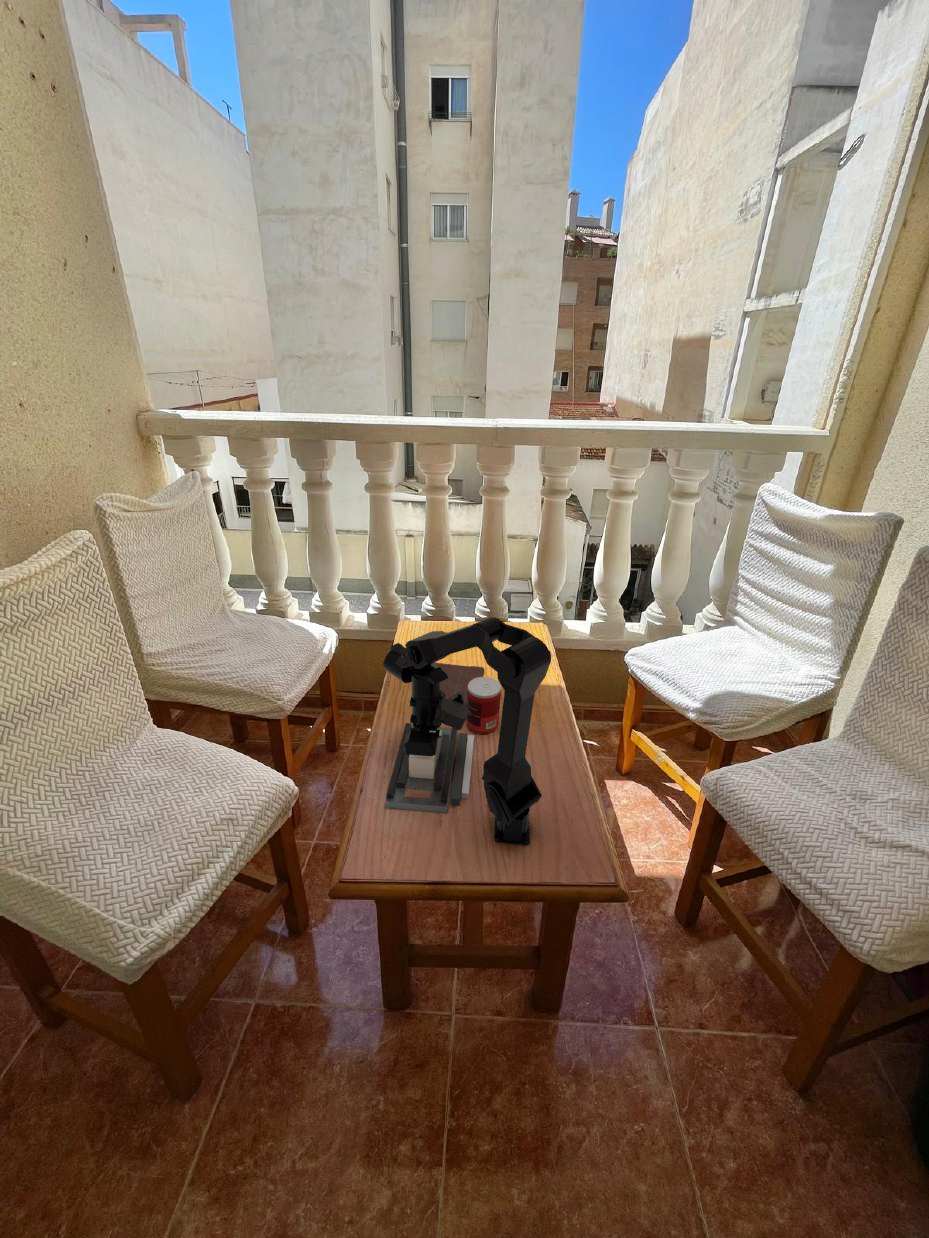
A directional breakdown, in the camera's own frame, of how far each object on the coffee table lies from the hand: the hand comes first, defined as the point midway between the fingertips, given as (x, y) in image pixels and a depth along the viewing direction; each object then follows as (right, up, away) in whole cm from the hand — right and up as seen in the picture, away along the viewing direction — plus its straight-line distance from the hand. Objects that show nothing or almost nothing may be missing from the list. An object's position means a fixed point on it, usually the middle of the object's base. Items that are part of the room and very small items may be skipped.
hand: (426, 752), depth 117 cm
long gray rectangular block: (+8, -4, 0) cm, 9 cm away
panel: (0, -3, 0) cm, 3 cm away
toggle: (0, -3, -3) cm, 4 cm away
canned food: (+12, +3, +14) cm, 19 cm away
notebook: (+5, +10, +27) cm, 29 cm away
